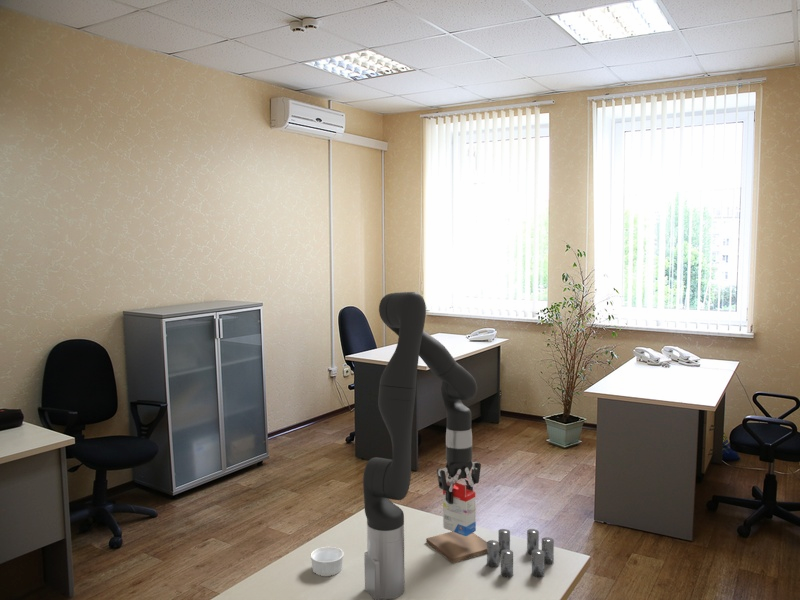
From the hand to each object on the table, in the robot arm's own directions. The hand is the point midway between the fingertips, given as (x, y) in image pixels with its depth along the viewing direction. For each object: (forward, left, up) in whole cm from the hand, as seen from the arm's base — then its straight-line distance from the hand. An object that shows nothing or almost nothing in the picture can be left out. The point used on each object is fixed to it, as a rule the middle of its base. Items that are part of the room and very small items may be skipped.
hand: (459, 500), depth 173 cm
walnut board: (0, 0, -14) cm, 14 cm away
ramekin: (-38, +7, -14) cm, 41 cm away
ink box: (0, 0, -9) cm, 9 cm away
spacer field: (+9, -16, -14) cm, 23 cm away
